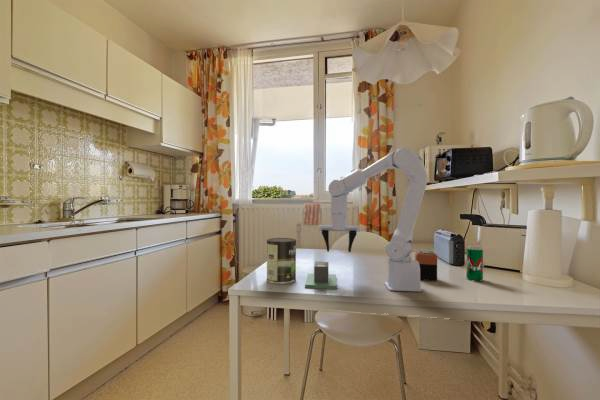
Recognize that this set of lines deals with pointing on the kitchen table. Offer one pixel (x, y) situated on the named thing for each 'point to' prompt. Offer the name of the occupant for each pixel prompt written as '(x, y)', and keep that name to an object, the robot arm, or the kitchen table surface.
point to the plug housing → (321, 272)
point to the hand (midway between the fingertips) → (338, 251)
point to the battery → (427, 265)
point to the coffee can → (281, 260)
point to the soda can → (474, 262)
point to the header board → (324, 285)
